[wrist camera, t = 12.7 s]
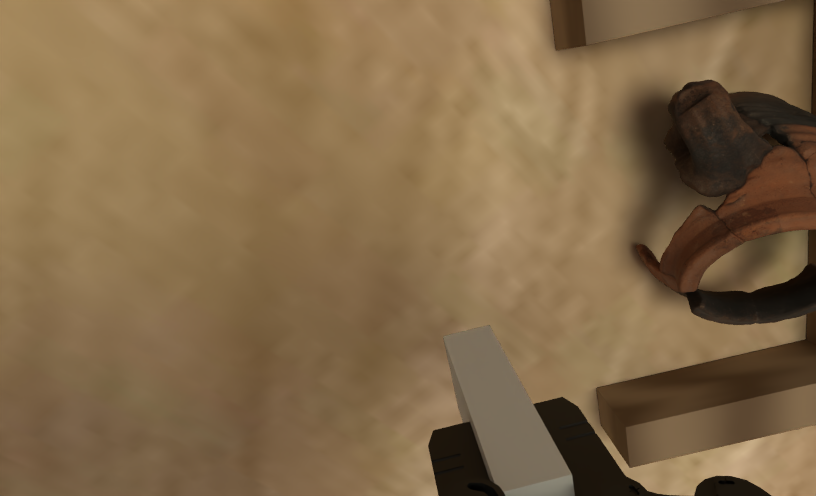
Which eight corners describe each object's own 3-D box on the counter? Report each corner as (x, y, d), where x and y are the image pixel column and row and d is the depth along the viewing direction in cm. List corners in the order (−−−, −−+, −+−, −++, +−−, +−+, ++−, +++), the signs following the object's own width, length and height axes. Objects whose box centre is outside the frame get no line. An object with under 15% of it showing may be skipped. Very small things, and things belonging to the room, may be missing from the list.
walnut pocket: (601, 428, 30) (635, 479, 26) (548, -15, 23) (584, -34, 19) (850, 370, 30) (921, 413, 26) (875, -90, 23) (978, -124, 19)
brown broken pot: (842, 156, 27) (942, 282, 22) (663, 241, 32) (707, 361, 27) (746, -21, 21) (851, 89, 16) (547, 119, 26) (572, 238, 21)
